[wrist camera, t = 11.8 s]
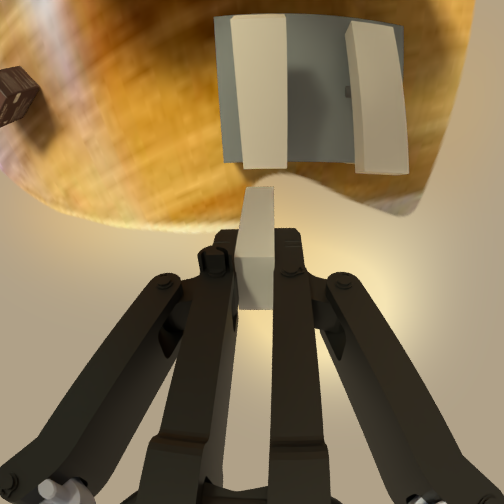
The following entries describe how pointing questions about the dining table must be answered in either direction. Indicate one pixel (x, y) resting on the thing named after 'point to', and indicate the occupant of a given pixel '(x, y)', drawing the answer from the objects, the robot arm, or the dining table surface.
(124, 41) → the dining table surface
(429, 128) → the dining table surface
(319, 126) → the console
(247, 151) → the switch left
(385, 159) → the switch right
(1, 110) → the box
